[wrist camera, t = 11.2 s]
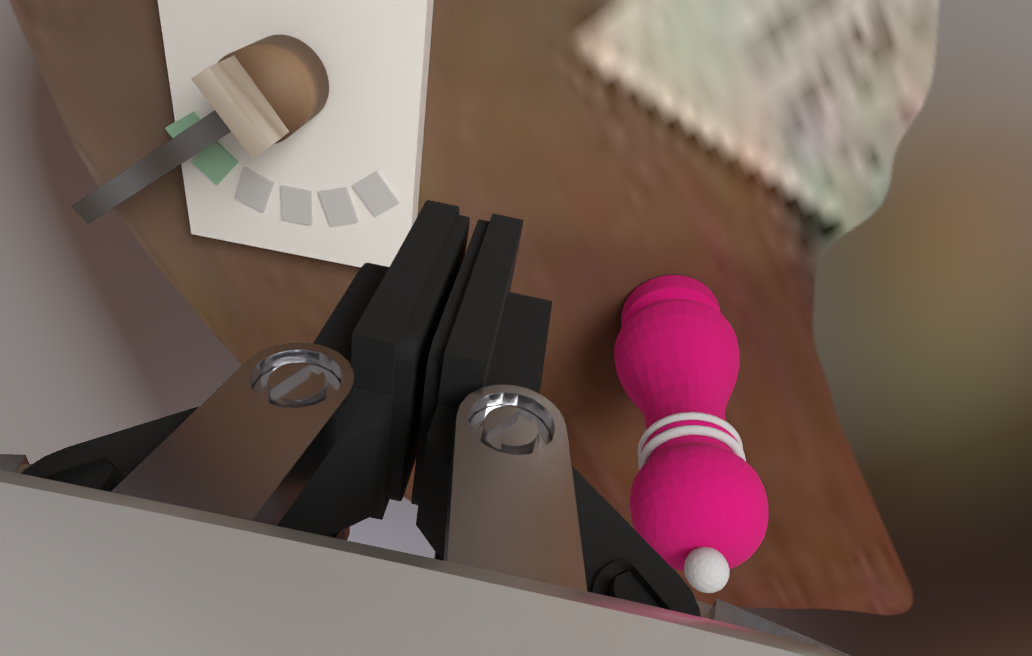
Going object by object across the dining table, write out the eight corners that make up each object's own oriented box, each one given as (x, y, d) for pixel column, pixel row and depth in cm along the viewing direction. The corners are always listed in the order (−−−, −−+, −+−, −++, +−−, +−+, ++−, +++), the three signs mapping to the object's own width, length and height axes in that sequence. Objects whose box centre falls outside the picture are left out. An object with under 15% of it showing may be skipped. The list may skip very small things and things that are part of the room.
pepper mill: (640, 373, 45) (659, 652, 29) (594, 293, 42) (586, 554, 26) (743, 338, 43) (828, 621, 26) (703, 248, 39) (772, 509, 23)
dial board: (155, -59, 33) (136, -56, 32) (434, -5, 33) (426, 0, 32) (195, 222, 42) (181, 233, 41) (413, 265, 42) (406, 278, 41)
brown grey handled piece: (292, 17, 33) (231, 43, 27) (345, 97, 35) (298, 135, 29) (90, 159, 39) (6, 203, 33) (144, 221, 40) (74, 271, 35)
